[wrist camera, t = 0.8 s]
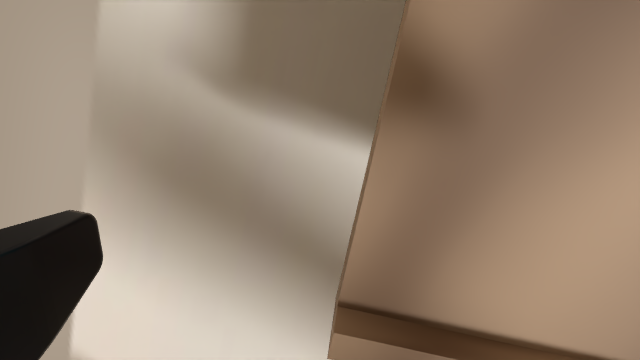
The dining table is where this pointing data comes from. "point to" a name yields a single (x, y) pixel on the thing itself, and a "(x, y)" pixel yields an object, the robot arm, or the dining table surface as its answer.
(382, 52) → the dining table surface
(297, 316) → the dining table surface
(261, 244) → the dining table surface
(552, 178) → the balance board
